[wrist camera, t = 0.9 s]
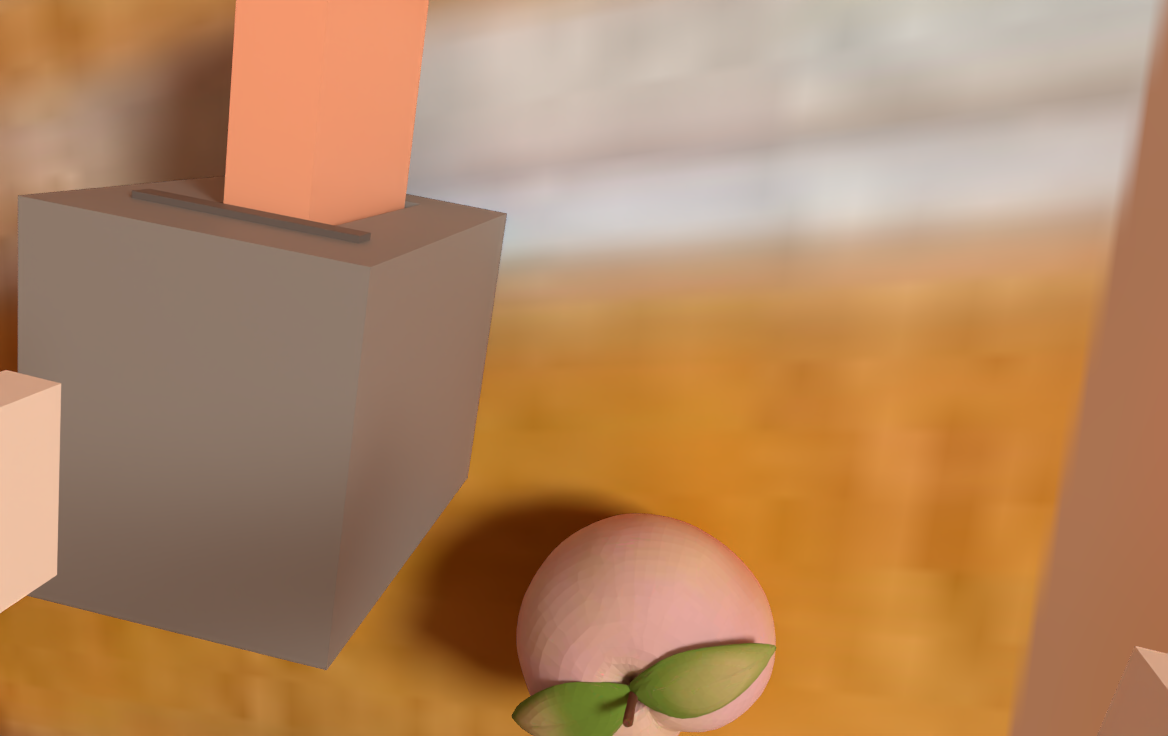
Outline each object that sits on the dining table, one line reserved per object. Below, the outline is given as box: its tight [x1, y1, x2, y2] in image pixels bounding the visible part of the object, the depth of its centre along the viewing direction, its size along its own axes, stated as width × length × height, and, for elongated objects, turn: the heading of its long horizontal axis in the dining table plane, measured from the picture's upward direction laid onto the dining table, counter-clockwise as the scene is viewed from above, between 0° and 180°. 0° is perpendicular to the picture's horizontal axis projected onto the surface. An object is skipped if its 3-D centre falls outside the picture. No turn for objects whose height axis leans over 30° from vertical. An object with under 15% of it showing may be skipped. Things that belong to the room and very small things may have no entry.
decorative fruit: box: [512, 513, 776, 736], centre depth 33 cm, size 9×8×10 cm
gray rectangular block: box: [18, 176, 507, 670], centre depth 30 cm, size 11×9×14 cm
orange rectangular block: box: [224, 0, 429, 226], centre depth 29 cm, size 16×2×8 cm, turn 170°
